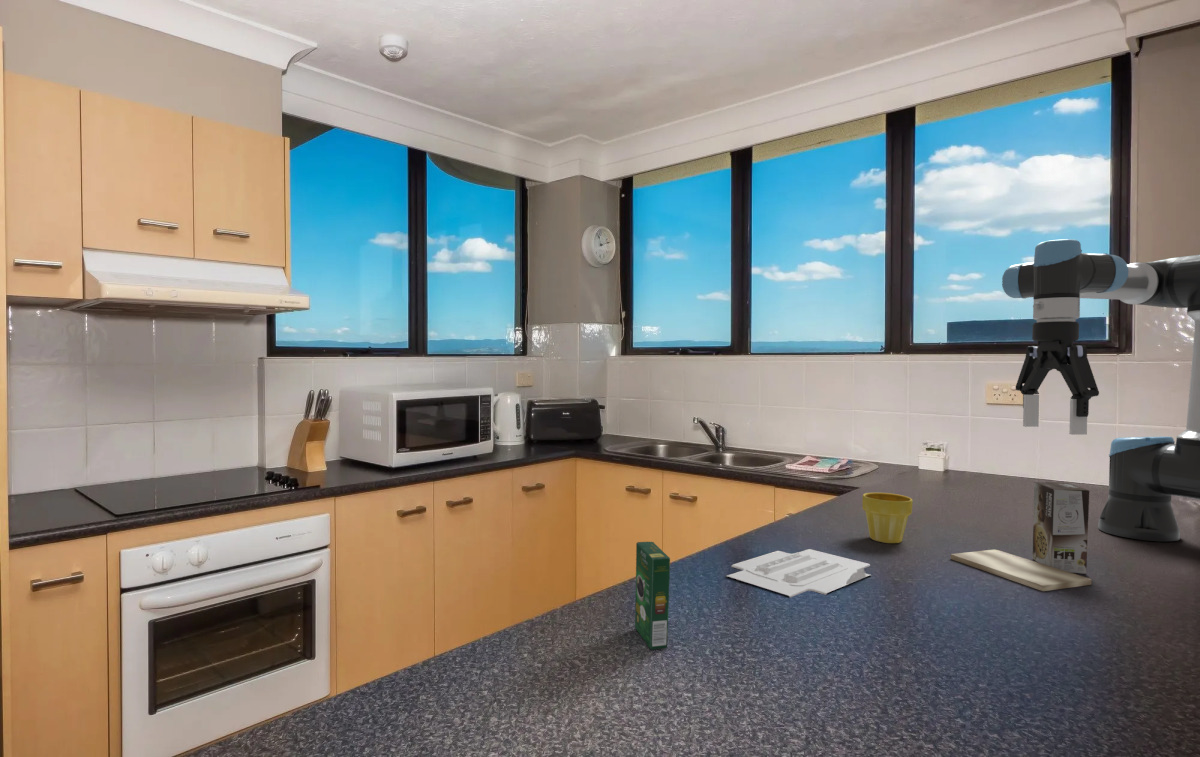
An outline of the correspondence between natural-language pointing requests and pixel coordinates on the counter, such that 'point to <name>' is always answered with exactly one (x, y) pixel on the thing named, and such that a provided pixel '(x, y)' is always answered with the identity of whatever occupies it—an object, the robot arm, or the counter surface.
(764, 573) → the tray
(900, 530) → the plant pot
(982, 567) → the birch board
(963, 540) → the counter surface
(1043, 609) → the counter surface
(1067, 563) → the coffee box
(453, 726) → the counter surface
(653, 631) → the coffee box
